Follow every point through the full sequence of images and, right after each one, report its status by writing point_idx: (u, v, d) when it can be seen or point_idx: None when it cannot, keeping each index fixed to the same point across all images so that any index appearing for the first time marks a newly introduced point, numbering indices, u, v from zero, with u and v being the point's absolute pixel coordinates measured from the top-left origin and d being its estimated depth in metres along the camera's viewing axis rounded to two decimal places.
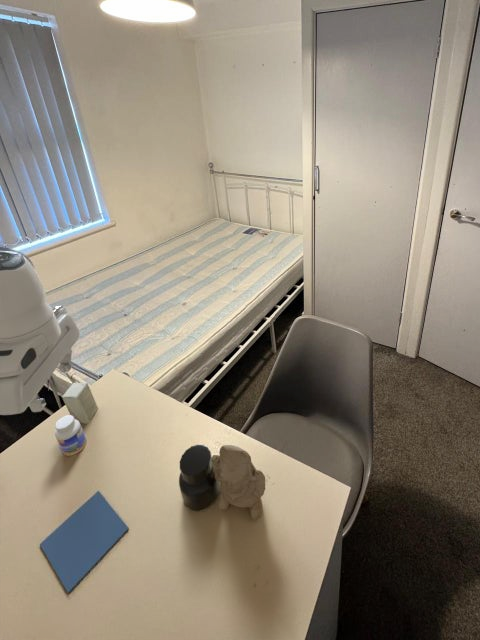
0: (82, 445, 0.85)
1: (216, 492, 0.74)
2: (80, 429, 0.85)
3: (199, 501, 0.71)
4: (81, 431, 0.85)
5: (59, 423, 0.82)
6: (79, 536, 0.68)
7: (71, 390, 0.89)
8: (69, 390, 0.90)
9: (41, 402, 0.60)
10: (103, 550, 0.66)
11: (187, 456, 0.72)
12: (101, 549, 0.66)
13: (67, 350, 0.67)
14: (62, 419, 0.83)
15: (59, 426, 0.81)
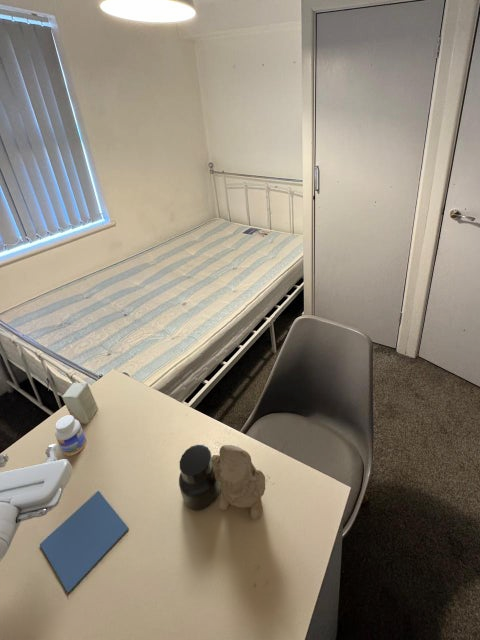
0: (82, 445, 0.85)
1: (216, 492, 0.74)
2: (80, 429, 0.85)
3: (199, 501, 0.71)
4: (81, 431, 0.85)
5: (59, 423, 0.82)
6: (79, 536, 0.68)
7: (71, 390, 0.89)
8: (69, 390, 0.90)
9: None
10: (103, 550, 0.66)
11: (187, 456, 0.72)
12: (101, 549, 0.66)
13: None
14: (62, 419, 0.83)
15: (59, 426, 0.81)
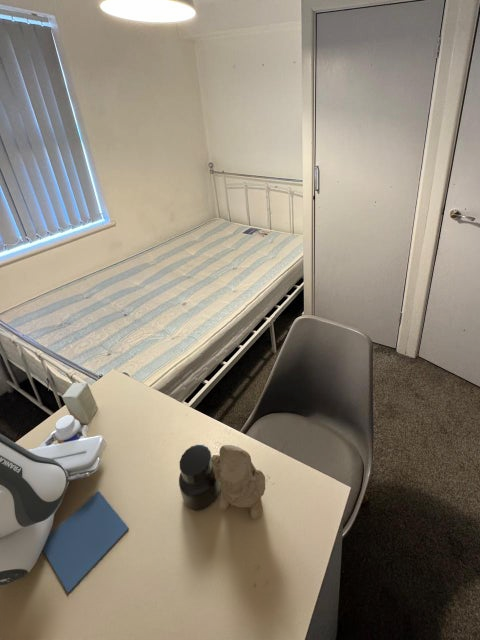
0: None
1: (216, 492, 0.74)
2: None
3: (199, 501, 0.71)
4: None
5: (59, 423, 0.82)
6: (79, 536, 0.68)
7: (71, 390, 0.89)
8: (69, 390, 0.90)
9: None
10: (103, 550, 0.66)
11: (187, 456, 0.72)
12: (101, 549, 0.66)
13: None
14: (62, 419, 0.83)
15: (59, 426, 0.81)
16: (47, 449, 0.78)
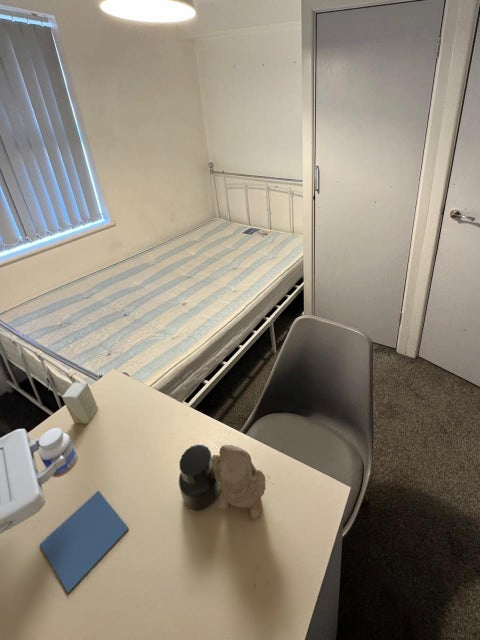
0: (59, 474, 0.69)
1: (216, 492, 0.74)
2: None
3: (199, 501, 0.71)
4: None
5: (47, 434, 0.68)
6: (79, 536, 0.68)
7: (71, 390, 0.89)
8: (69, 390, 0.90)
9: None
10: (103, 550, 0.66)
11: (187, 456, 0.72)
12: (101, 549, 0.66)
13: None
14: (54, 431, 0.68)
15: (42, 438, 0.67)
16: (21, 453, 0.67)
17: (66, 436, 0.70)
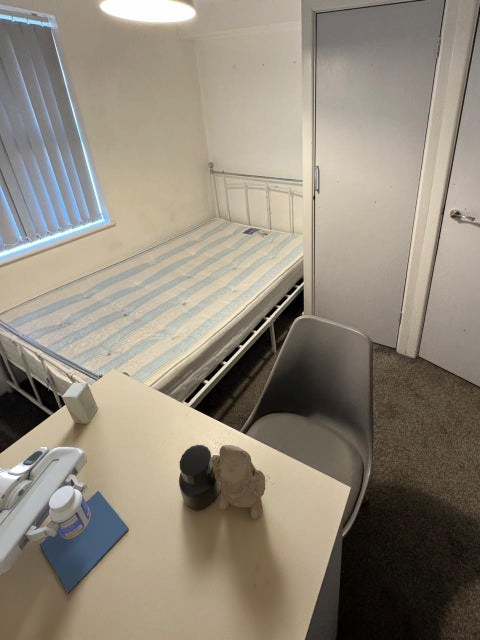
0: None
1: (216, 492, 0.74)
2: None
3: (199, 501, 0.71)
4: None
5: (64, 490, 0.63)
6: (79, 536, 0.68)
7: (71, 390, 0.89)
8: (69, 390, 0.89)
9: None
10: (103, 550, 0.66)
11: (187, 456, 0.72)
12: (101, 549, 0.66)
13: None
14: (68, 492, 0.62)
15: (58, 491, 0.63)
16: (51, 485, 0.66)
17: (75, 505, 0.62)
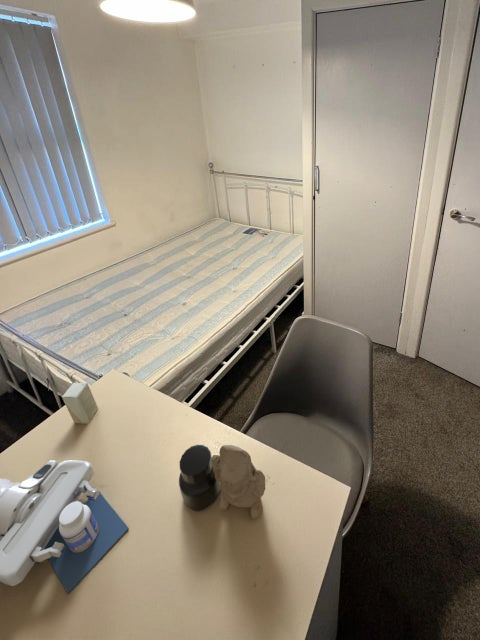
0: (69, 547, 0.66)
1: (216, 492, 0.74)
2: (66, 539, 0.63)
3: (199, 501, 0.71)
4: (68, 541, 0.64)
5: (73, 506, 0.65)
6: None
7: (71, 390, 0.89)
8: (69, 390, 0.90)
9: None
10: (103, 550, 0.66)
11: (187, 456, 0.72)
12: (101, 549, 0.66)
13: None
14: (77, 508, 0.65)
15: (68, 507, 0.65)
16: (61, 498, 0.68)
17: (84, 520, 0.65)
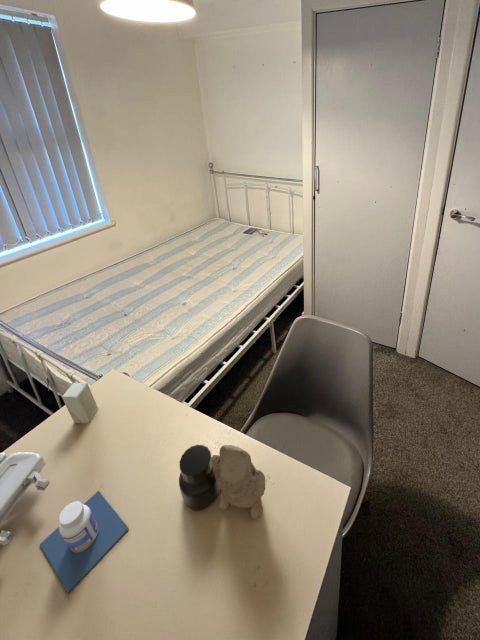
0: (69, 547, 0.66)
1: (216, 492, 0.74)
2: (66, 539, 0.63)
3: (199, 501, 0.71)
4: (68, 541, 0.64)
5: (73, 506, 0.65)
6: None
7: (71, 390, 0.89)
8: (69, 390, 0.90)
9: None
10: (103, 550, 0.66)
11: (187, 456, 0.72)
12: (101, 549, 0.66)
13: None
14: (77, 508, 0.65)
15: (68, 507, 0.65)
16: (9, 489, 0.70)
17: (84, 521, 0.65)
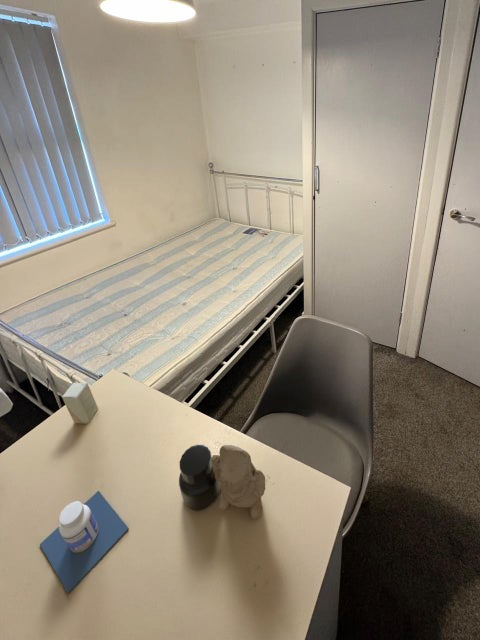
0: (69, 547, 0.66)
1: (216, 492, 0.74)
2: (66, 539, 0.63)
3: (199, 501, 0.71)
4: (68, 541, 0.64)
5: (73, 506, 0.65)
6: None
7: (71, 390, 0.89)
8: (69, 390, 0.90)
9: None
10: (103, 550, 0.66)
11: (187, 456, 0.72)
12: (101, 549, 0.66)
13: None
14: (77, 508, 0.65)
15: (68, 507, 0.65)
16: None
17: (84, 521, 0.65)
